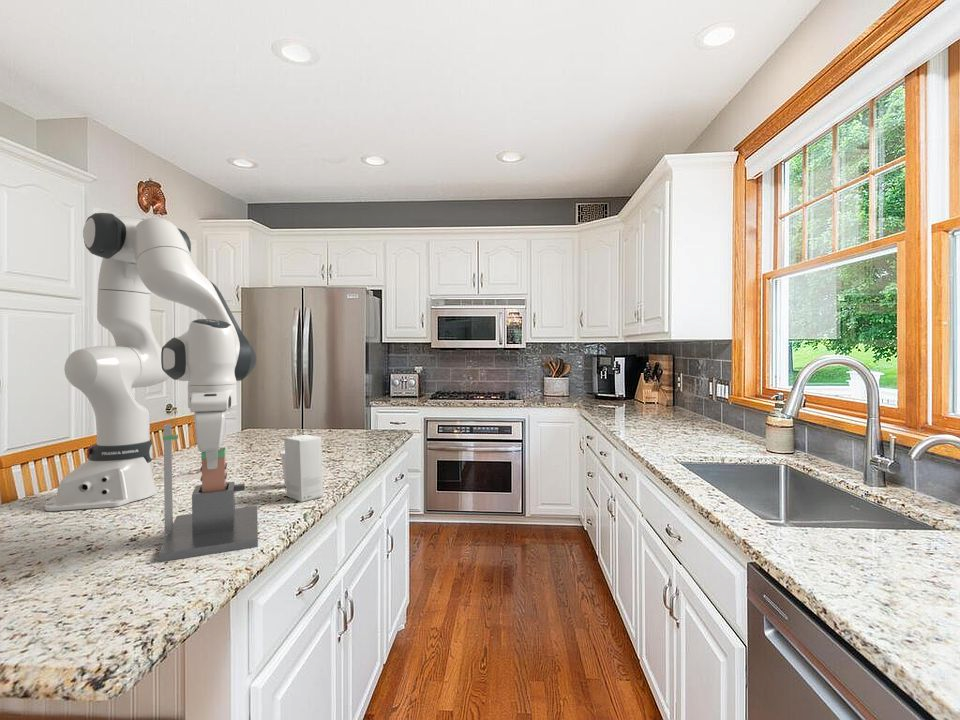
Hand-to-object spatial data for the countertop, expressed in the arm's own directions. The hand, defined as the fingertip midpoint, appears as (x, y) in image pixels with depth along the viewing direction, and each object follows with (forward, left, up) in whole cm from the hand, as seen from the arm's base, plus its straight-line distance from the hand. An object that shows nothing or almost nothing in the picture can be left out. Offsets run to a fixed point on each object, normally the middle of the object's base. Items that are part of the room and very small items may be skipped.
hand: (213, 465), depth 99 cm
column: (0, 0, -9) cm, 9 cm away
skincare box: (+19, +19, -14) cm, 31 cm away
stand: (0, 0, -14) cm, 14 cm away
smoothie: (+17, +31, -14) cm, 38 cm away
